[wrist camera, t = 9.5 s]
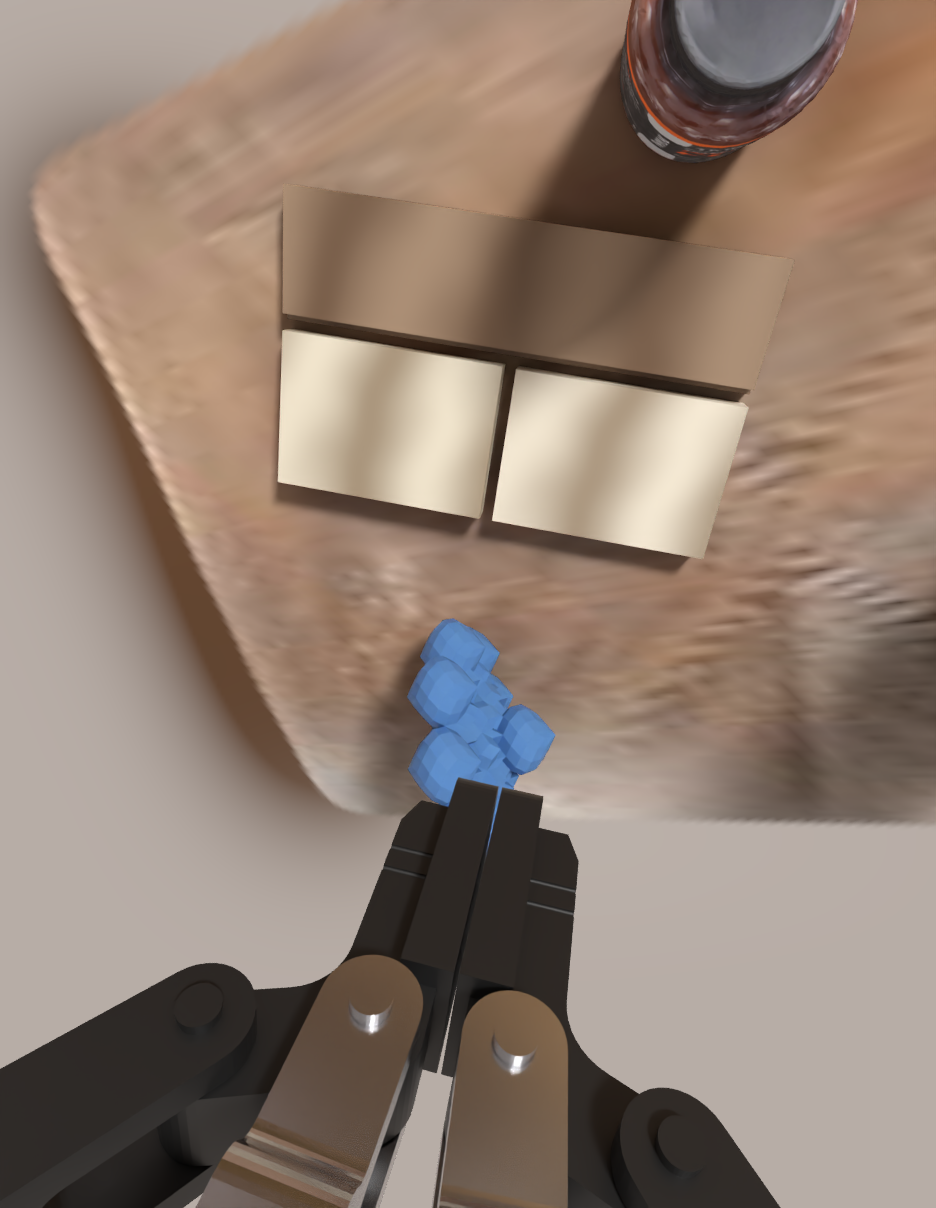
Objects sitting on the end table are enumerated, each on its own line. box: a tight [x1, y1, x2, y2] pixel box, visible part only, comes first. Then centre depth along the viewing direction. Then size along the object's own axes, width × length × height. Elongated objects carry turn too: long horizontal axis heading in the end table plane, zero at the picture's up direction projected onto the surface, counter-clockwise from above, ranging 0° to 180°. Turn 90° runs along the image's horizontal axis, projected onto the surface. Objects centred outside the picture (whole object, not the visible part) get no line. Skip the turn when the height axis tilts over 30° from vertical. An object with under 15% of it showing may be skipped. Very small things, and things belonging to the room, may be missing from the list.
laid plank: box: [283, 184, 795, 394], centre depth 31 cm, size 21×5×1 cm, turn 82°
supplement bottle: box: [620, 0, 858, 163], centre depth 22 cm, size 6×6×11 cm
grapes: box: [407, 619, 555, 855], centre depth 36 cm, size 12×7×12 cm, turn 15°
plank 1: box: [278, 329, 505, 519], centre depth 34 cm, size 10×7×1 cm
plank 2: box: [492, 366, 748, 559], centre depth 33 cm, size 10×7×1 cm
